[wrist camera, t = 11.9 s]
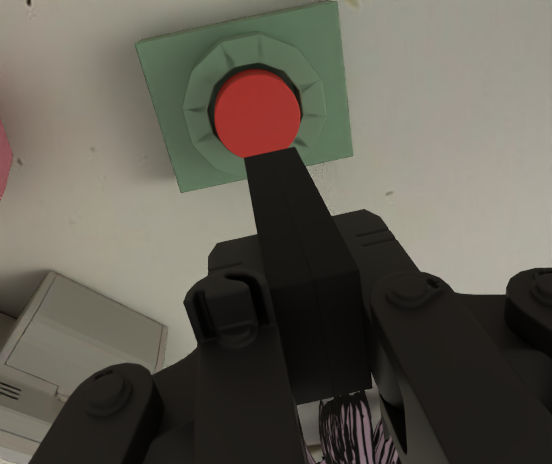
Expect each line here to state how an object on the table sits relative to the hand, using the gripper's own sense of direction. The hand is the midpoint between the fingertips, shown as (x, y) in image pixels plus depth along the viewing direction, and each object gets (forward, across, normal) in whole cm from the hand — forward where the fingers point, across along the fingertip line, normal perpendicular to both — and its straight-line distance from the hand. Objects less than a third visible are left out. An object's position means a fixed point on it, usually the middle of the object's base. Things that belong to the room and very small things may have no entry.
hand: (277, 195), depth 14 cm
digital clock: (+14, -15, -14) cm, 25 cm away
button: (+10, 0, 0) cm, 10 cm away
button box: (+14, 0, 0) cm, 14 cm away
